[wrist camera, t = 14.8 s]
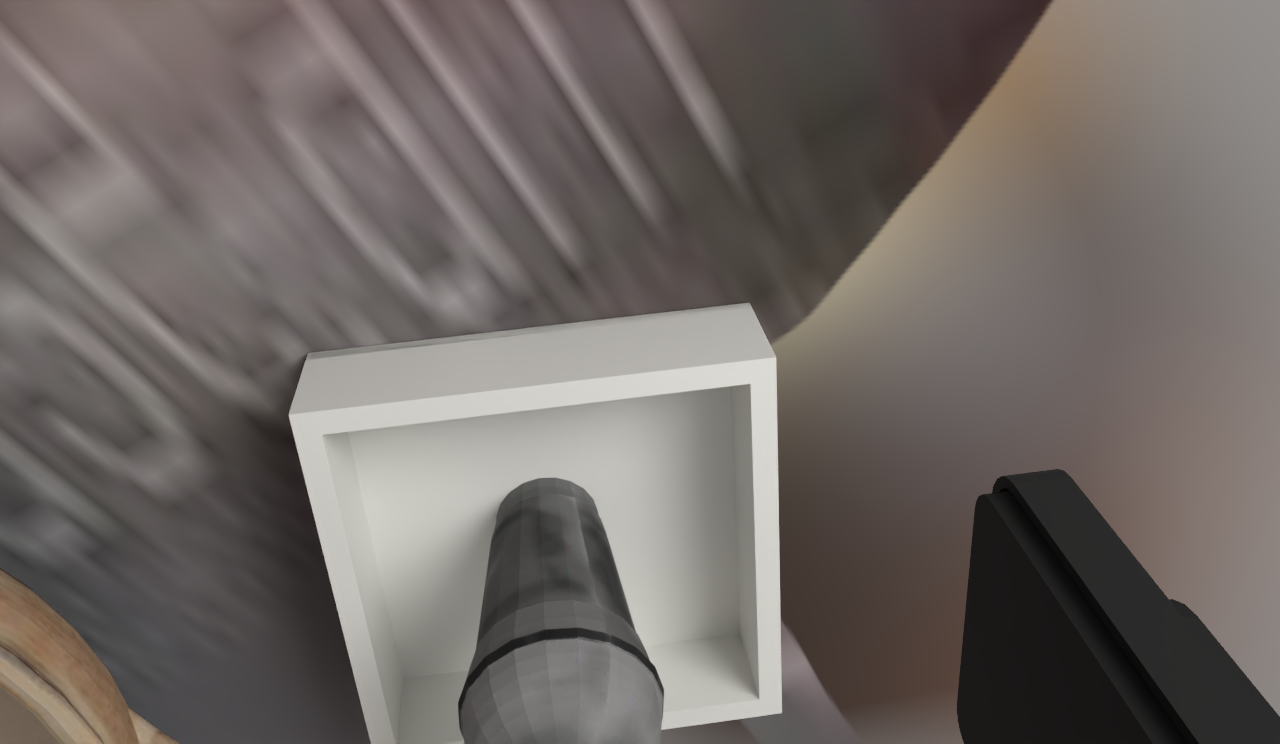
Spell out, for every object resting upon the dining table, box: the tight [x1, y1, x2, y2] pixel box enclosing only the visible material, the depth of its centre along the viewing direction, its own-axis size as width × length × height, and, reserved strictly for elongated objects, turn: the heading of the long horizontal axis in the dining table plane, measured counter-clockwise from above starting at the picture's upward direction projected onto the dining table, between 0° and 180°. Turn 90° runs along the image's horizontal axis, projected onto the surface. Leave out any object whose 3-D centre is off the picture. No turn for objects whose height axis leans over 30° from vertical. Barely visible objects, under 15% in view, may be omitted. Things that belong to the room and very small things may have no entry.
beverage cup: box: [458, 478, 664, 744], centre depth 41 cm, size 7×7×20 cm
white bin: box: [289, 303, 782, 744], centre depth 48 cm, size 18×18×5 cm
